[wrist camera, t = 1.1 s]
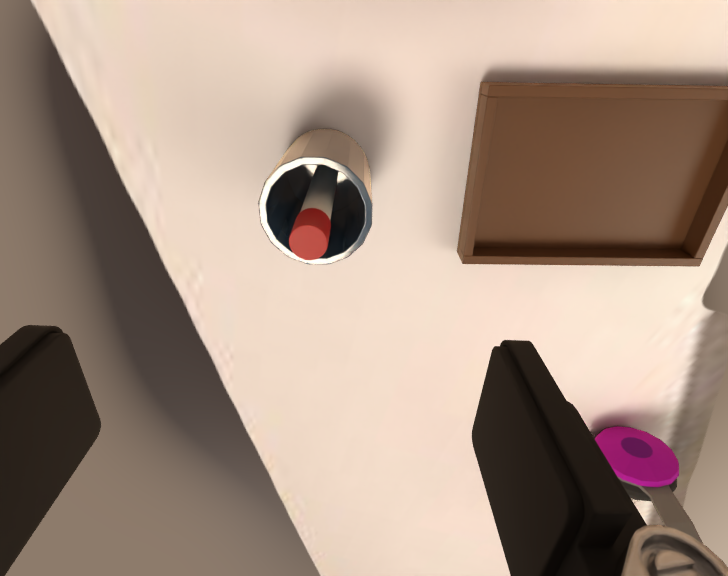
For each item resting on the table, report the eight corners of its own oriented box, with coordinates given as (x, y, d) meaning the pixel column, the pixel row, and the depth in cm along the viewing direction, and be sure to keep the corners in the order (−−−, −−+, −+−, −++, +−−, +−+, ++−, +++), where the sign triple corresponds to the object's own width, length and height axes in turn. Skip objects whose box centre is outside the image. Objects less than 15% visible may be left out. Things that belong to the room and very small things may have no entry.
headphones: (618, 515, 62) (718, 698, 45) (557, 519, 62) (633, 701, 45) (654, 415, 51) (802, 604, 34) (581, 420, 52) (691, 610, 35)
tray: (480, 81, 33) (489, 84, 30) (754, 86, 33) (782, 89, 31) (456, 251, 40) (462, 264, 38) (680, 254, 40) (699, 266, 38)
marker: (312, 162, 35) (287, 224, 23) (338, 162, 35) (327, 224, 23) (313, 187, 36) (290, 260, 24) (339, 188, 36) (328, 260, 24)
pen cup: (279, 127, 34) (252, 156, 26) (370, 128, 34) (373, 157, 26) (287, 213, 38) (265, 264, 29) (368, 214, 38) (370, 265, 30)
